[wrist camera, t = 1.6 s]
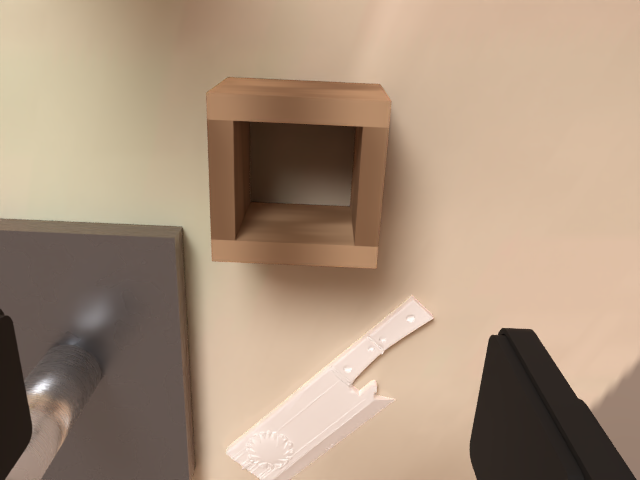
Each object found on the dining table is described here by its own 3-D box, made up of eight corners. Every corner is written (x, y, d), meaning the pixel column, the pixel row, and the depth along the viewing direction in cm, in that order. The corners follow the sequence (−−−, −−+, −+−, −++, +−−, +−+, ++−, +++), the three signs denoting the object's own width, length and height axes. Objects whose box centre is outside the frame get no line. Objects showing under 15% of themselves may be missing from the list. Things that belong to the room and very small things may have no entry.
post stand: (181, 226, 29) (126, 310, 21) (195, 466, 35) (156, 601, 27) (-54, 216, 29) (-198, 295, 21) (1, 458, 35) (-94, 590, 27)
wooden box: (380, 84, 26) (391, 101, 21) (368, 226, 29) (376, 268, 24) (228, 77, 26) (206, 92, 21) (230, 219, 29) (212, 261, 24)
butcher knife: (470, 348, 32) (475, 359, 31) (285, 485, 36) (284, 499, 35) (411, 291, 30) (414, 302, 29) (226, 441, 35) (223, 455, 34)
